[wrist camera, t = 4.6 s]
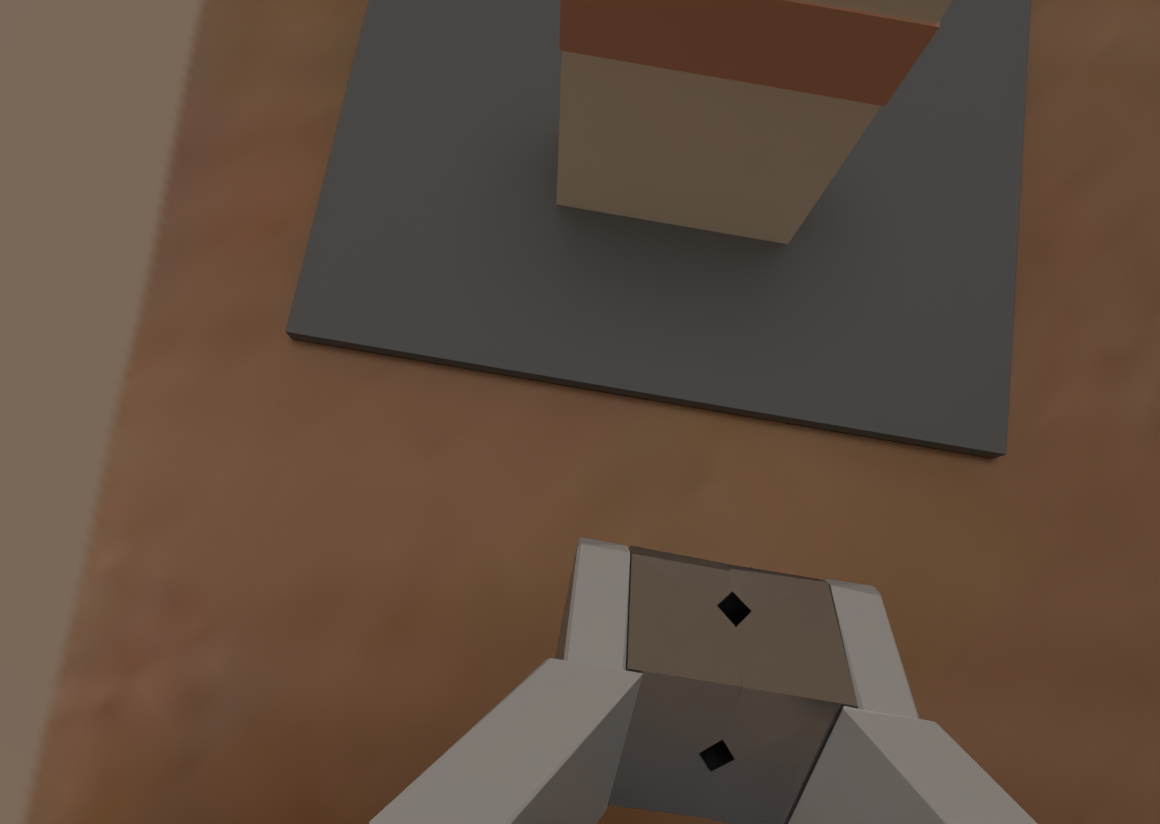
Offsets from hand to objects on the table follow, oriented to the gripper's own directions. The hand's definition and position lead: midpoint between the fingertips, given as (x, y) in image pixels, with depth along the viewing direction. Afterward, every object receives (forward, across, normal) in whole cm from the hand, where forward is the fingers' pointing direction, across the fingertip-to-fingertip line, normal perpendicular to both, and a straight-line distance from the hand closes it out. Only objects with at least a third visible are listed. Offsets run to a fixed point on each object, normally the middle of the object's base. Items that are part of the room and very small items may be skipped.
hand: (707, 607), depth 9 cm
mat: (+21, 0, -2) cm, 21 cm away
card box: (+17, 0, +1) cm, 17 cm away
